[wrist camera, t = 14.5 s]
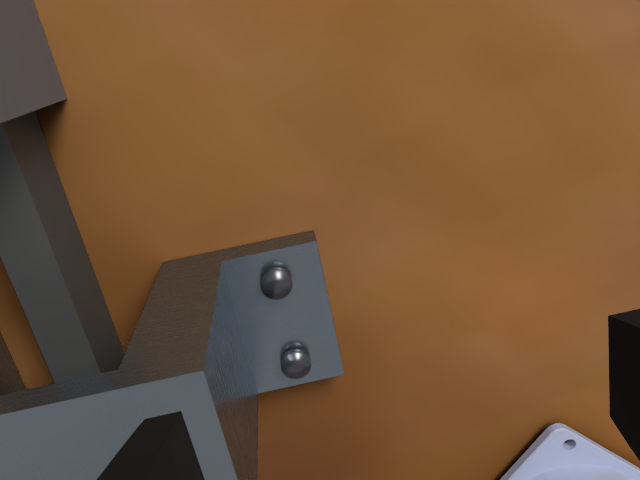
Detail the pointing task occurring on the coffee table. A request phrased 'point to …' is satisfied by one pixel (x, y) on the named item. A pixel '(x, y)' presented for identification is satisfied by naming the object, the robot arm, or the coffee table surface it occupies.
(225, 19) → the coffee table surface
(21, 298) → the plug
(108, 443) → the housing
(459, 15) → the coffee table surface
